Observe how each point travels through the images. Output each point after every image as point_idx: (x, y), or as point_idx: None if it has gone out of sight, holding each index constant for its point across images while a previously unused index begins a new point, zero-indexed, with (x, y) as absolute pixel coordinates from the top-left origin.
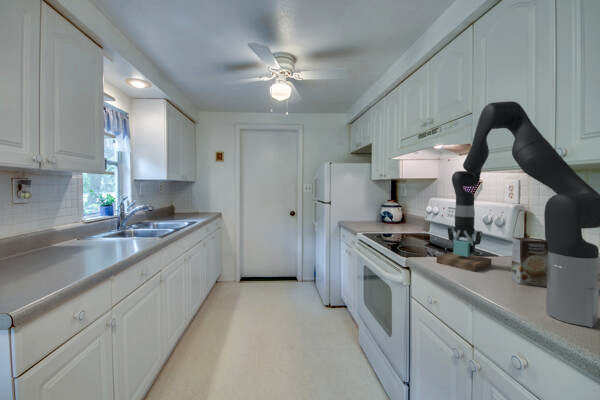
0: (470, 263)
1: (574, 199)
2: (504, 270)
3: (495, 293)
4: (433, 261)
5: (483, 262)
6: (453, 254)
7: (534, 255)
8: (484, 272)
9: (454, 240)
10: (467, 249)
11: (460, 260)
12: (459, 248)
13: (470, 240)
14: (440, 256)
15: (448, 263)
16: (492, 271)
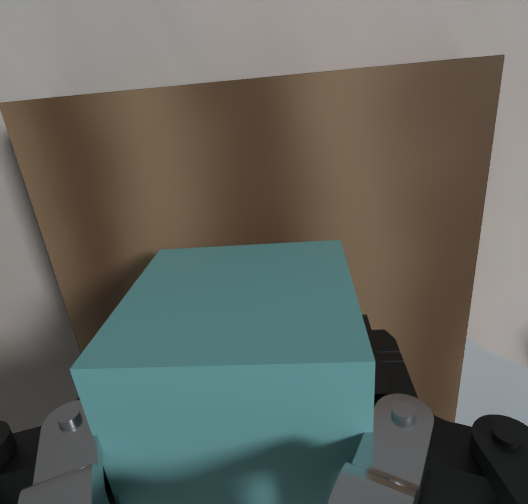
0: (53, 112)
1: None
2: (11, 353)
3: None
4: (519, 83)
5: (72, 306)
6: (397, 335)
7: None
8: (10, 167)
9: (397, 428)
10: (125, 298)
11: (195, 143)
12: (251, 289)
13: (53, 479)
14: (461, 103)
15: (315, 72)
16: (15, 256)
